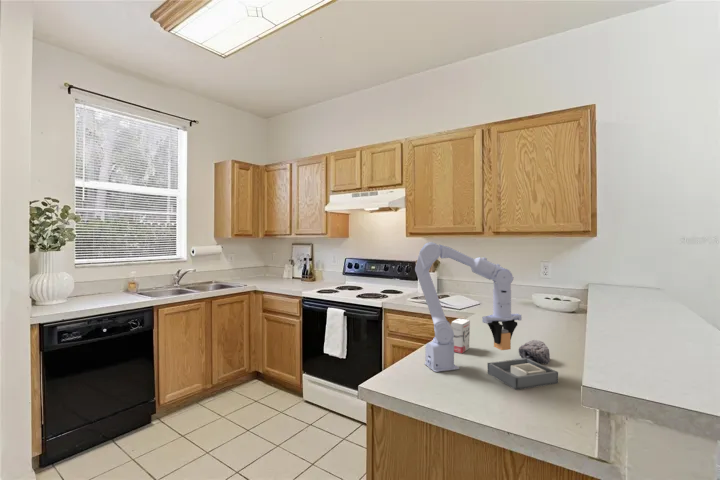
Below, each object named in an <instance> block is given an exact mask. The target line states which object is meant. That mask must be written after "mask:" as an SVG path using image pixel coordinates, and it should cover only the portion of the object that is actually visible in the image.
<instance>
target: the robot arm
mask: <svg viewBox="0 0 720 480" xmlns="http://www.w3.org/2000/svg"><path fill="white" fill-rule="evenodd" d="M439 258H441V259H451V260H454V261H456V262H459V263H461V264H463V265H466V266H467V267H470V269H471V272H472V273H473V274H476V275H478V276H481V277H482V278H485V279H487V280H489V281H491V280H492V281H493V285H492V286H493V289H492V314H489V315H485V316H482V319H481V321H482V323H483V324H486V325H487V326H488V328H489V330H490V332H491V334H492V337H493V343H494V342H495V343H497V344H500V342H501V331H502V328H503V329H506V330H508V332H509V333H511V338H512V336H513V334H514V331H515V330H516V328H517V326H518V321H523V320H522V318H523V317H522V314H519V313H512V283H513V282H514V276H513V273H512V272H511V271H510V269H508V268H505V267H503V266H501V264H499V263H493V262H492V261H489V260H488V258H487V257H484V256H483V257H480V256H479V257H476V258H473V257H471V256H469V255H467V254H465V253H463V252H461V251H459V250H456V249H454V248H452V247H449V246H446V245H443V244H437V243H436V242H433V241H428V242H426V243H424V244H423V246H422V247H421V249H420V250H419V252H418V256H417V261H416V263H415V267H414V271H415V274H416V277H417V279H418V283H419V285H420V288H421V290H422V294H423V296H424V300H425V302H426V305H427V309H428V310H429V313H430V316H431V319H432V323H433V330H434V337H433V338H432V341H431V342H427V343H426V345H425V361H424V365H425V366H427V367H428V368H429V369H431V370H432V371H433V372H435V373H437V372H446V371H454V370H455V371H456V370H459V369H460V367H459V366H458V365H456V364H455V352H454V340H453V338H454V332H453V330H452V326H451V322H450V321H448V319H447V318H446V315H445V313H444V310H443V307H442V304H441V302H440V301H441V300H440V299H439V295H438V293H437V290H436V287H435V285H434V283H433V279H432V277H431V273H430V270H431V267H432V265H433V264H434V263H435V262H436V261H437V260H438V259H439Z"/></svg>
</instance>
